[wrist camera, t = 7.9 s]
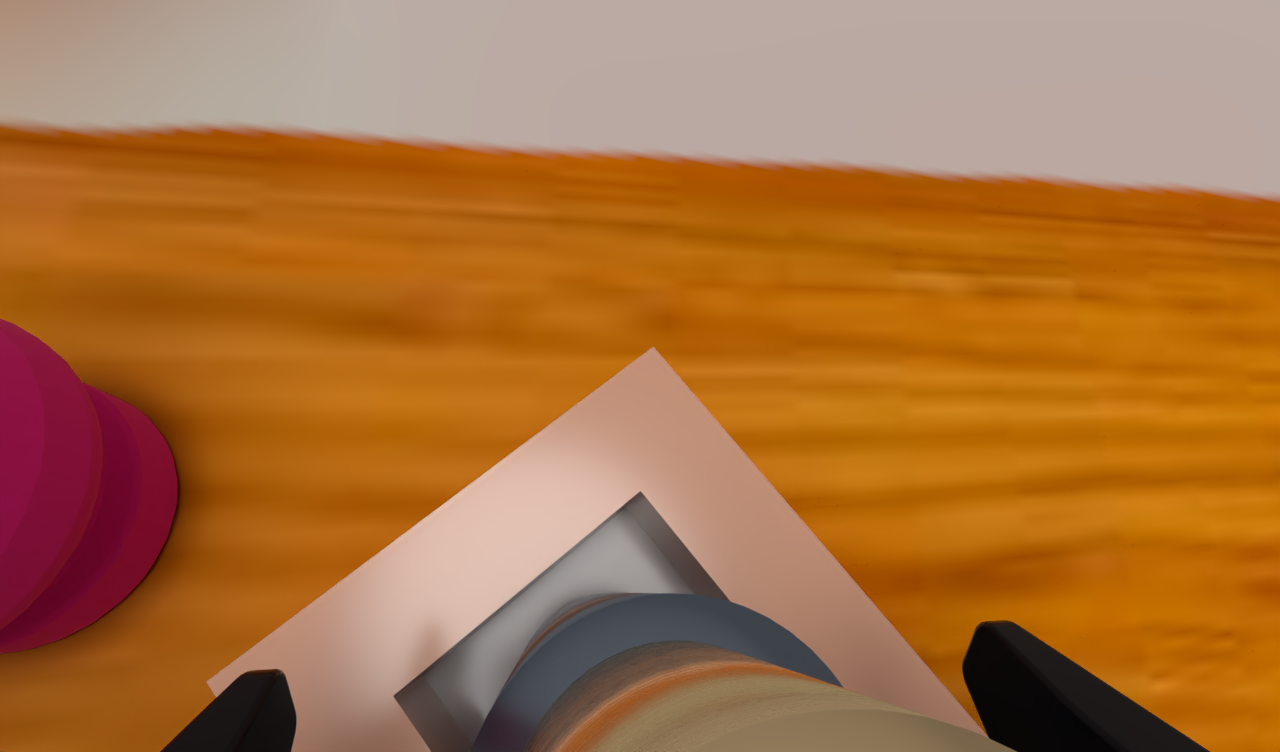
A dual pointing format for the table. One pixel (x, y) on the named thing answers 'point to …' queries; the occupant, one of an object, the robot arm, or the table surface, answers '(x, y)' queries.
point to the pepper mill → (72, 496)
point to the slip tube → (691, 687)
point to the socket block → (572, 576)
